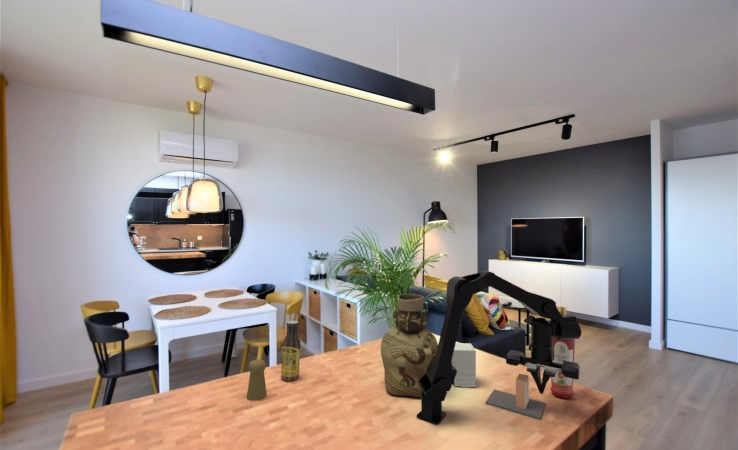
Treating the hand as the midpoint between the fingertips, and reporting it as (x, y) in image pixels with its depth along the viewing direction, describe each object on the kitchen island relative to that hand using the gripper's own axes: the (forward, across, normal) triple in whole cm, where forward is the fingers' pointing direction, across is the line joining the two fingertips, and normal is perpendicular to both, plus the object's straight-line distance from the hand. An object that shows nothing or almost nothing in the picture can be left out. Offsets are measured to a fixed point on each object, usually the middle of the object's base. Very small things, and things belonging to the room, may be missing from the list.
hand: (541, 393), depth 99 cm
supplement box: (+6, +25, -5) cm, 26 cm away
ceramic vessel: (+6, +39, +8) cm, 40 cm away
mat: (+5, +7, 0) cm, 9 cm away
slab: (+5, +5, 0) cm, 7 cm away
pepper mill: (+6, +75, +42) cm, 86 cm away
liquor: (+6, -4, -15) cm, 17 cm away
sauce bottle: (+6, +76, +27) cm, 81 cm away
